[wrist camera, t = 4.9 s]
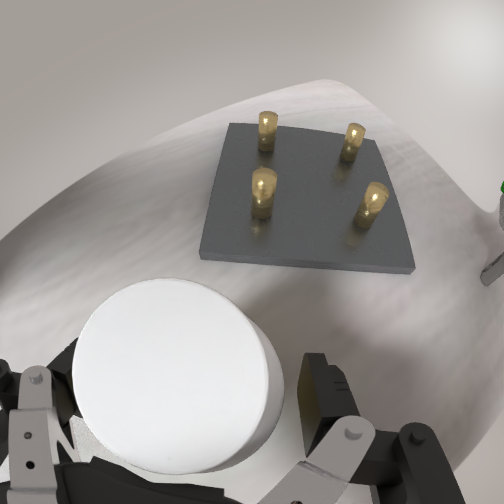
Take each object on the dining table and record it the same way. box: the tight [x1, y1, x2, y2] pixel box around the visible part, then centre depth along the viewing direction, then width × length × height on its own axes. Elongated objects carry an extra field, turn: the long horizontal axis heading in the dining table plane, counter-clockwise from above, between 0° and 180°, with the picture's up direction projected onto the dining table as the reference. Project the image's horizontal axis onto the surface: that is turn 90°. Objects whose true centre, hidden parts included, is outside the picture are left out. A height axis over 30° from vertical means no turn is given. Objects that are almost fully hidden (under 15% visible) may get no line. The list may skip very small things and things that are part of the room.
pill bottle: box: [72, 278, 284, 475], centre depth 10 cm, size 6×6×11 cm
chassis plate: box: [199, 111, 416, 275], centre depth 21 cm, size 16×16×4 cm
